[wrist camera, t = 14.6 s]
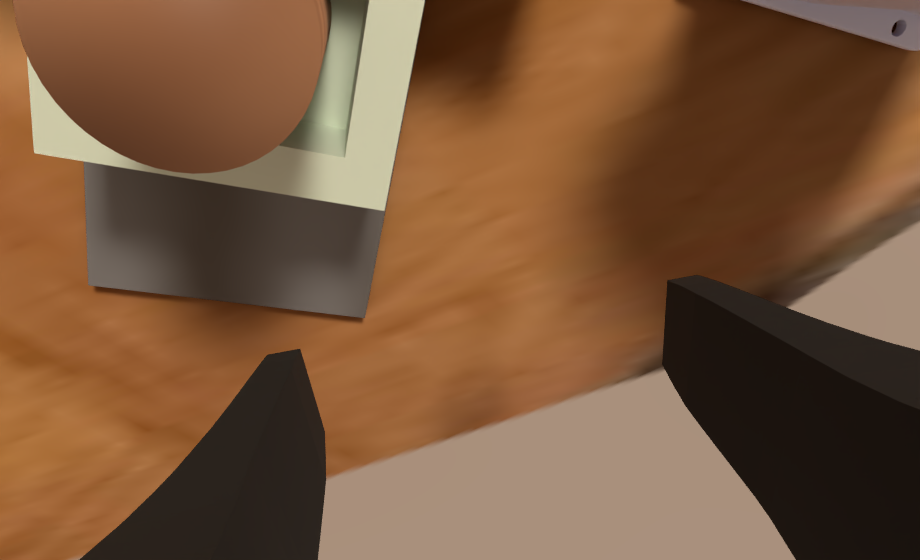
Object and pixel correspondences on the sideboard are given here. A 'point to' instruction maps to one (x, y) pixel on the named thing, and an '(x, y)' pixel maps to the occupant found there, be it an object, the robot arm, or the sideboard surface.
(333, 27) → the socket block
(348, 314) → the block
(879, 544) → the robot arm
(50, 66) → the dowel
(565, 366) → the sideboard surface
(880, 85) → the sideboard surface
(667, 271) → the sideboard surface
